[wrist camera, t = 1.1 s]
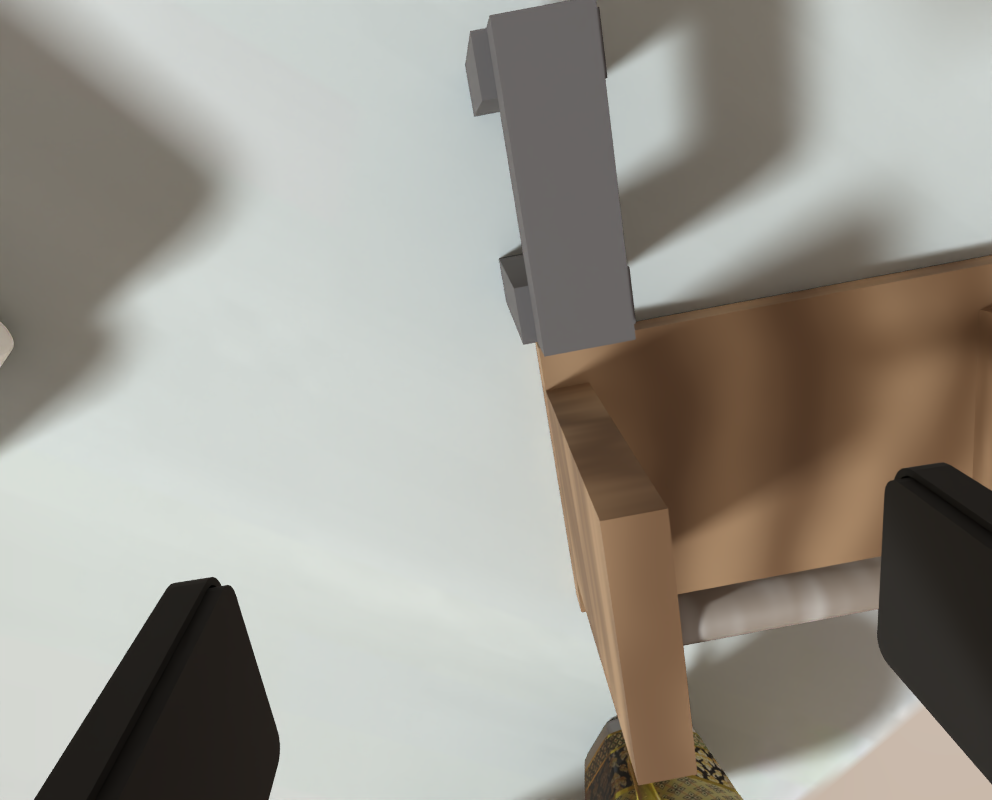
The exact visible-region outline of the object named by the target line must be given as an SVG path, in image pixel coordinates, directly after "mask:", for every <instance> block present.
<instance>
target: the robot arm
mask: <svg viewBox="0 0 992 800" xmlns="http://www.w3.org/2000/svg"><path fill="white" fill-rule="evenodd" d="M877 638H878V644H879V648H880V651H881V653H882V655H883V657H884V659H885V661H886V662H887V663H888V665H889V666H890V667H891V668H892V669H893V670H894V672H895V673H896V674H897V675H898V676H899V677H900V679H901V680H902V681H903V682H904V683H905V684H906V686H907V687H908V688H909V689H910V690H911V691H912V692H913V694H914V695H915V696H916V697H917V698H918V699H919V701H920V702H921V703H922V704H923V705H924V706H925V707H926V709H927V710H928V711H929V712H930V713H931V714H932V716H933V717H934V718H935V719H936V720H937V721H938V723H939V724H940V725H941V726H942V727H943V728H944V729H945V731H946V732H947V733H948V734H949V735H950V736H951V738H952V739H953V740H954V741H955V742H956V743H957V745H958V746H959V747H960V748H961V749H962V750H963V751H964V753H965V754H966V755H967V756H968V757H969V758H970V760H971V761H972V762H973V763H974V764H975V765H976V767H977V768H978V769H979V770H980V771H981V772H982V773H983V775H984V776H985V777H986V778H987V779H988V780H989V782H990V783H991V784H992V491H991V490H990V489H988V488H987V487H985V486H983V485H982V484H980V483H979V482H977V481H975V480H974V479H972V478H971V477H969V476H967V475H966V474H964V473H963V472H961V471H959V470H958V469H956V468H954V467H953V466H951V465H949V464H947V463H944V462H942V463H933V464H927V465H921V466H914V467H908V468H902V469H900V470H899V471H898V472H897V474H896V476H895V478H894V480H891V481H889V482H888V483H887V485H886V487H885V492H884V511H883V531H882V551H881V570H880V590H879V610H878V630H877ZM279 755H280V742H279V735H278V731H277V728H276V724H275V721H274V718H273V715H272V711H271V708H270V705H269V702H268V698H267V695H266V692H265V688H264V685H263V682H262V679H261V675H260V672H259V669H258V666H257V662H256V659H255V656H254V653H253V649H252V646H251V643H250V640H249V636H248V633H247V630H246V627H245V623H244V620H243V617H242V614H241V610H240V607H239V604H238V601H237V597H236V594H235V592H234V590H233V588H232V587H231V586H229V585H225V586H221V584H220V582H219V581H218V580H217V579H216V578H214V577H210V578H203V579H197V580H191V581H184V582H178V583H173V584H171V585H170V586H169V587H168V588H167V589H166V591H165V592H164V594H163V596H162V597H161V599H160V600H159V602H158V603H157V605H156V607H155V608H154V610H153V611H152V613H151V615H150V616H149V618H148V619H147V621H146V623H145V624H144V626H143V627H142V629H141V630H140V632H139V634H138V635H137V637H136V638H135V640H134V642H133V643H132V645H131V646H130V648H129V650H128V651H127V653H126V654H125V656H124V658H123V659H122V661H121V662H120V664H119V665H118V667H117V669H116V670H115V672H114V673H113V675H112V677H111V678H110V680H109V681H108V683H107V685H106V686H105V688H104V689H103V691H102V692H101V694H100V696H99V697H98V699H97V700H96V702H95V704H94V705H93V707H92V708H91V710H90V712H89V713H88V715H87V716H86V718H85V719H84V721H83V723H82V724H81V726H80V727H79V729H78V731H77V732H76V734H75V735H74V737H73V739H72V740H71V742H70V743H69V745H68V746H67V748H66V750H65V751H64V753H63V754H62V756H61V758H60V759H59V761H58V762H57V764H56V766H55V767H54V769H53V770H52V772H51V773H50V775H49V777H48V778H47V780H46V781H45V783H44V785H43V786H42V788H41V789H40V791H39V793H38V794H37V796H36V797H35V799H34V800H269V796H270V792H271V788H272V785H273V781H274V777H275V774H276V770H277V766H278V762H279Z"/></svg>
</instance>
